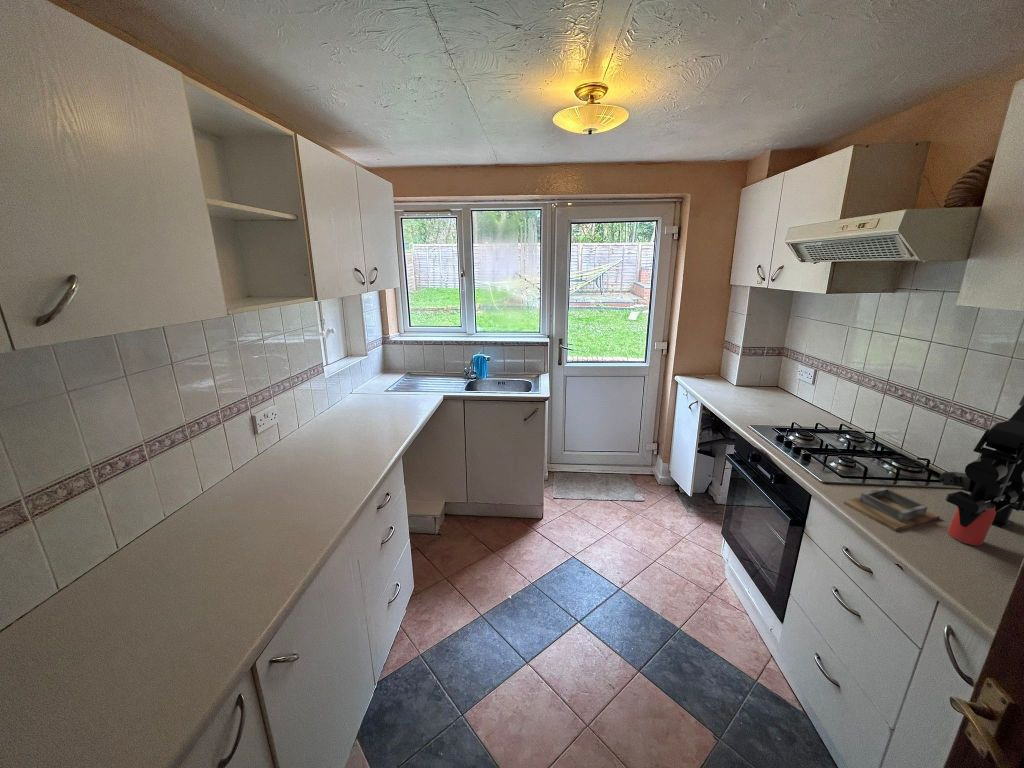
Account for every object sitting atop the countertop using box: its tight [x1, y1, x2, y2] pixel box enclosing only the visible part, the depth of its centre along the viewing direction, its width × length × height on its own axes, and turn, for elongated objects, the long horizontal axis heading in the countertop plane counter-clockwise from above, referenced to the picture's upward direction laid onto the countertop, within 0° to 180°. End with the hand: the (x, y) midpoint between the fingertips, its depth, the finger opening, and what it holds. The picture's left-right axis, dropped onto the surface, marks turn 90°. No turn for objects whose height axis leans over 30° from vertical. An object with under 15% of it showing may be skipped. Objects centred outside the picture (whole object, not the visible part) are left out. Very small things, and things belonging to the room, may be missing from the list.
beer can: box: [947, 502, 996, 546], centre depth 109 cm, size 7×7×12 cm
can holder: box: [843, 487, 941, 532], centre depth 122 cm, size 20×14×4 cm
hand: (970, 523), depth 109 cm, fingers closed on beer can, 7 cm apart
